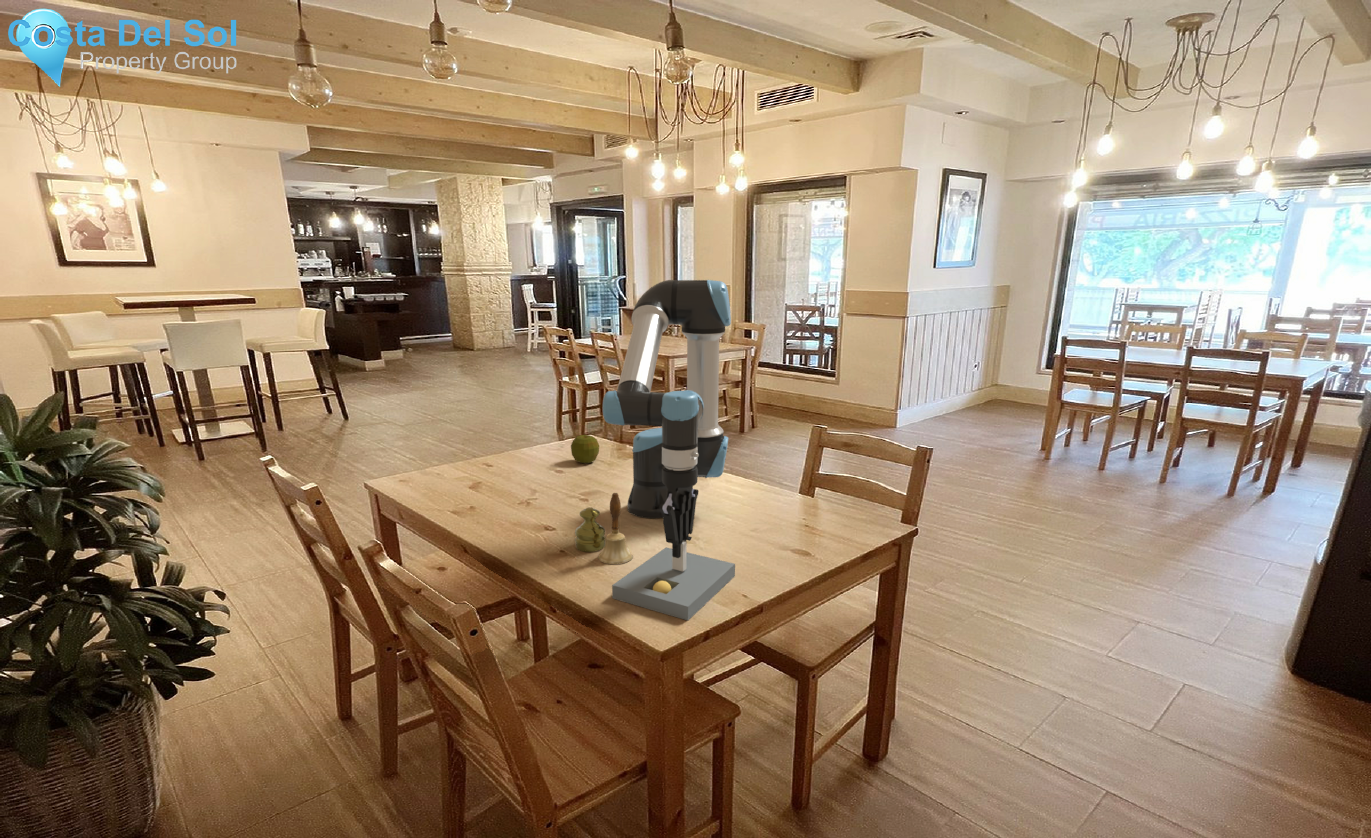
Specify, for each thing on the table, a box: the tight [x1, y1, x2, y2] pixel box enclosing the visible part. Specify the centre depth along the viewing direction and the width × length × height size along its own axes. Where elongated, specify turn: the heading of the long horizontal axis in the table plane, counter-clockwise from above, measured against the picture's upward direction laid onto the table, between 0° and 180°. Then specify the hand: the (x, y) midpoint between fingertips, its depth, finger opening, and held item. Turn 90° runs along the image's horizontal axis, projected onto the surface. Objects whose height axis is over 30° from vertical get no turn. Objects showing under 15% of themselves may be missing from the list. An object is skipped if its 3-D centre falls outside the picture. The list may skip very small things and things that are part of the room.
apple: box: [570, 432, 600, 464], centre depth 231 cm, size 10×10×11 cm
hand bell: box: [598, 492, 634, 565], centre depth 153 cm, size 8×8×16 cm
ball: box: [652, 581, 672, 594], centre depth 134 cm, size 4×4×4 cm
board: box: [611, 547, 736, 621], centre depth 140 cm, size 18×22×3 cm
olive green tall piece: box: [574, 506, 606, 553], centre depth 160 cm, size 7×7×10 cm
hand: (679, 568), depth 141 cm, fingers closed
